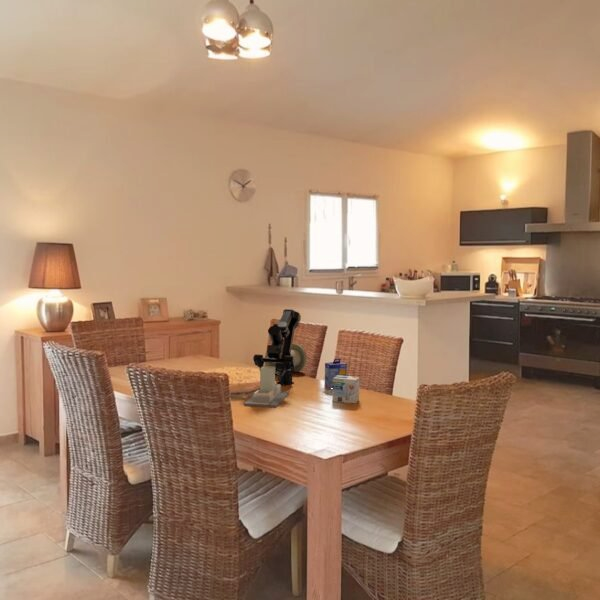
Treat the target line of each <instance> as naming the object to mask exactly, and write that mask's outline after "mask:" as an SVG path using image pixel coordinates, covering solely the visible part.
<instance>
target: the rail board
mask: <svg viewBox="0 0 600 600" xmlns="http://www.w3.org/2000/svg"><path fill="white" fill-rule="evenodd" d="M288 395H290V391H285V390H284V391H283V390H282V385H281V384H278V383H275V396H274V397H273V391H265V390H260V389H257V390H256V391H255V392H254V393H253V395H252V396H251V397H249V399H247V400H246V401H245V402H244V403H243V406H246V407H247V406H248V407H260V408H261V407H263V408H278V406H279V405H280V404H281V403H282V402H283V401H284V400H285V399H286V398H287V397H288ZM286 396H287V397H286ZM285 397H286V398H285Z"/></svg>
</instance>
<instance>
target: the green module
mask: <svg viewBox="0 0 600 600" xmlns="http://www.w3.org/2000/svg"><path fill="white" fill-rule="evenodd" d="M259 374H260V375H259V376H260V377H259V381H260V382H259V390H265V391H273V397H274V396H275V384H276V375H275V367H270V366H266V365H264V366H263V367H261V368H259Z"/></svg>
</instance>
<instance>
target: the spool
mask: <svg viewBox="0 0 600 600" xmlns="http://www.w3.org/2000/svg"><path fill="white" fill-rule="evenodd" d="M267 354H268V352H267V351H266V352H265V355H264V356H265V357H264V358H269V356H268V355H267ZM291 356H293V357H294V361H295V372H296V373H297V372H300V371H303V370H304V369H305V367H306V364H307V354H306V351H305V349H304V346H301V345H300V344H298V343H292V348H291ZM264 364H265V366H270V367H275V374H277V375H276V376H279V371H276V365H275V363H273V362H264Z"/></svg>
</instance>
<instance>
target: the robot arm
mask: <svg viewBox="0 0 600 600" xmlns="http://www.w3.org/2000/svg"><path fill="white" fill-rule="evenodd" d="M301 317H302V316H301V313H300V312H299V311H296V310H294V309H292V308H285V309H283V311H282V315H281V318H280V320H279V322H277V323H273V324H272V325H271V326H269V328H268V329H267V332H268V336H269V340H270V342H271V344H267V346H266V352H268V354H267V355H268V356H269V358H265V357H264V356H263V354H258V353H257V354H256V353H255V354H254V355H253V358H252V359H253V363H254V365H255V366H257V367H258V368H259V369H260V368H261V367H263V366H265V365H264V364H265V362H273V363H275V365H276V371H279V375H278V380H277V381H275V384H278V383H279V384H280V385H283V384H284V386H286V385H287V384H288V385H291V383H292V384H294V383H295V381H293V373H294V372H296V371H295V361H294V357H293V356H291V348H292V344H293V341H294V334H295V330H296V329H297V328H298V326H300V322H301V319H302V318H301Z"/></svg>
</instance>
